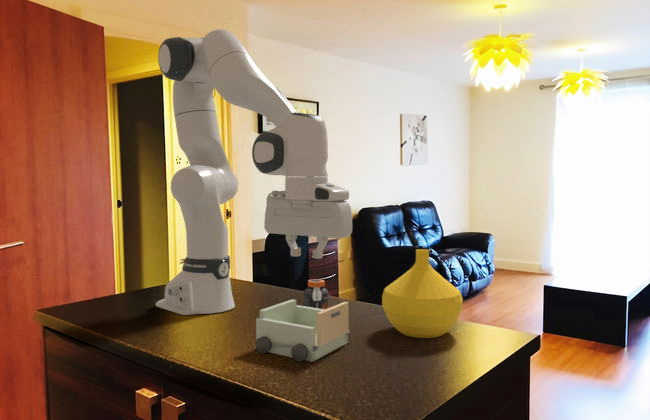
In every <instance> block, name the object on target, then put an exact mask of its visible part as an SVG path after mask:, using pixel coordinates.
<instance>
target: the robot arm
mask: <svg viewBox="0 0 650 420" xmlns="http://www.w3.org/2000/svg"><path fill="white" fill-rule="evenodd" d="M157 53H158V54H157V55H158V57H157V58H158V59H157V60H158V66H159V69H160V72H161V73H162V75H163V76H164V77H165V78H166V79H169V80H172V81H173V86H172V104H173V105H172V108H173V114H174V115H173V116H174V121H175V128H176V133H177V134H176V136H177V139H178V141H177V142H178V145H179V148H180V149H181V150H182V152H183V153H184V154H185V156H186V158H187V160H188V162H189V165H188V166H185V167H183V168H181V169H179V170H178V171H176V172H175V173H174V174H173V176H172V179H171V181H170V190H171V191H170V192H171V193H172V196H173V198H174V199H175V201H176V202H177V203H178V204H179V207H180V210H181V215H182V217H183V221H184V226H185V233H186V234H185V236H186V257H184V258H181V259H179V261H181V262H179V264H183V265H182V268H181V269H182V270H181V271H180V272H179V273H178V274H176V275H175V276H174V277H173V278H172V279H171V280H169V282H167V283H166V285H165V289H164V298H163V299H160V300H157V302H155V307H157V308H160V309H163V310H166V311H169V312H173V313H176V314H179V315H183V316H188V315H203V314H204V315H205V314H207V315H208V314H215V313H222V312H227V311H230V310H232V309H234V308H235V307H236V305H235V301H234V297H233V293H232V292H233V291H232V284H231V278H230V277H231V276H230V269H231V256H230V255H229V229H228V226H227V224H226V222H225V221H224V218H223V214H222V211H221V206H220V205H223V204H225V203H227V202H229V201H230V200H232V199H233V198H234V197H235V196H236V194H237V192H238V189H239V181H238V180H239V179H238V178H237V176H236V174H235V173H234V172H233V170H232V169H231V166H230V165H231V164H230V163H229V160H228V157H227V155H226V152H225V149H224V147H223V143H222V139H221V135H220V127H219V122H218V116H217V109H216V104H215V101H214V100H215V99H214V89H215V90H216V92H217V93H218V94H219V95H220V96H221V97H222V99H223V100H224V101H226V102H227V103H229V104H231V105H233V106H237V107H238V108H239V107H240V108H242V109H245V110H249V111H252V112H255V113H257V114H259V115H261V116H263V117H264V118H266V119H268V120H269V121H270V122H271V123H272V124H273V125H274V128H272V129H270V130H268V131H263V132H261V133H260V134H258V135H257V137H256V138H255V140H254V142H253V145H252V149H251V155H252V156H251V157H252V161H253V163H254V166H255V167H256V169H257V170H258V171H259V172H260V173H261V174H265V175H269V176H284V180H285V181H284V189H285V190H272V191H271V192H270V193H268V195H267V196H266V206H265V207H266V208H265V212H264V223H263V226H264V230H265V232H266V233H267V234H276V235H285V241H286V243H287V245H288V247H289V248H290V256H291V257H301V255H302V252H301V251H302V248H301V247H298V243H297V242H296V240H297V239H298V236H302V237H316V243H318V244H317V245H316V248H315V249H312V250H311V251H312V254H311V255H312V258H313V259H316V260H317V259H318V260H320V259H322V258H324V250H325V248H326V245H327V244H328V241H329V238H330V239H346V238H349V237H350V236H351V234H352V233H353V214H352V208H351V204H350V203H349V202H348V201H347V200H349V199H350V191H349V190H348V189H347V188H343V187H342V186H339V185H335V184H334V183H331V182H328V178H329V176H328V172H327V165H326V164H327V162H328V157H329V152H328V151H329V150H328V148H329V147H328V132H327V127H326V126H327V125H326V121H325V119H324V118H323V117H321V116H320V115H317V114H312V113H304V112H297V110H296V109H295V107H294V106H293V105H292V104H291V102H290V101H289V100H288V99H287V97H286V96H285V95H284V94H283V93H282V92H281V91H280V90H279V89H278V87H276V85H274V84H273V83H272V82H271V81H270V80H269V79H268V77H267V76H266V75H265V74H264V72H262V71H261V70H260V68H259V67H258V66H257V64H256V62H255V61H254V59H253V58H252V56H251V54H250V53H249V52H248V50H247V49H246V47H245V46H244V45H243V43H242V42H241V41H240V40H239V39H238V38H237V37H236V36H235V35H234V34H233V32H231V31H228V30H226V29H214V30H212V31H210V32H208V33H207V34H205V35H204V37H180V36H176V37H175V36H174V37H168V38H166V39H164V40H163V41H162V43H161V44H160V46H159V48H158V52H157Z"/></svg>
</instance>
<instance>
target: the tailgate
mask: <svg viewBox="0 0 650 420" xmlns="http://www.w3.org/2000/svg"><path fill="white" fill-rule="evenodd" d="M349 303H350V302H349V301H343V302H341V303H338V304H336V305H333V306H331V307H330V306H329V307H328V309H325V310H323V311H320V312H318V313H316V346H320V347H321V346H323V345H325V344H327V343H329V342H331V341H333V340H335V339H337V338H339V337H341V336H343V335H345V334H347V333H349V330H350V329H349V328H350V327H349V321H350V320H349V318H350V316H349V312H350V311H349V306H350V305H349Z"/></svg>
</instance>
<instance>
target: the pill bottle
mask: <svg viewBox="0 0 650 420" xmlns="http://www.w3.org/2000/svg"><path fill="white" fill-rule="evenodd" d="M325 282H326V281H325V280H323V279H318V278H315V279H308V280H307V288H306V289H305V290H304V291H303V306H306V307H312V308H319V309H328V308H329V301H330V299H329V291H328V289H327V288H326V287H325V286H326V285H325Z"/></svg>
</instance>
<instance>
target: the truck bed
mask: <svg viewBox="0 0 650 420" xmlns="http://www.w3.org/2000/svg"><path fill="white" fill-rule="evenodd" d="M323 310H325V309H319V308H312V307H306V306H304V305H298V304H297V299H293V298H292V299H289V300H287V301H282V302H280V303H277V304H274V305H272V306H268V307H265V308H262V309H259V317H257V318H256V319H255V340H256V341H255V349H256V350H257V351H258V353H260V354H266V353H271V354H276V355H279V356H284V357H288V358H293V360H294V361H295V362H303V361H307V362H312V363H313V362H315V361H316V360H319V359H320V358H322V357H325V355H328V354H329V353H331V352H334V351H335V350H337V349H339V348H341V347H343V346H345V345H346V344H348V343H349V335H350V334H351V331H350V329H349V333H347V334H345V335H343V336H341V337H339V338H337V339H335V340H333V341H331V342H329V343H327V344H325V345H323V346H321V347H320V346H316V313H318V312H320V311H323Z"/></svg>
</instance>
